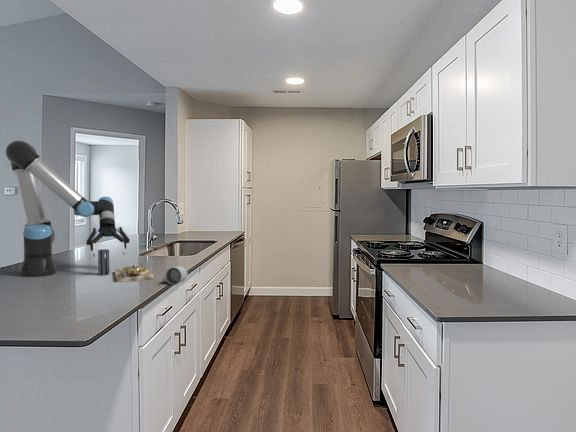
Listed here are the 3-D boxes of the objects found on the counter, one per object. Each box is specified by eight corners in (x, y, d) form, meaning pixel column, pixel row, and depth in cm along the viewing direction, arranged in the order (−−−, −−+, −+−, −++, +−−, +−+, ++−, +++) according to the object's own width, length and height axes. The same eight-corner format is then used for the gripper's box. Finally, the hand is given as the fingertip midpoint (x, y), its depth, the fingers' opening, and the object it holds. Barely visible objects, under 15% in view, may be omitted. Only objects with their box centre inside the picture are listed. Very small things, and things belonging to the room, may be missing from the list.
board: (116, 282, 191) (116, 272, 190) (114, 272, 213) (114, 263, 213) (154, 279, 197) (154, 269, 197) (148, 270, 220) (148, 261, 220)
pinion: (98, 275, 205) (98, 250, 204) (98, 273, 209) (98, 249, 209) (109, 274, 207) (109, 250, 206) (109, 273, 211) (108, 249, 211)
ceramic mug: (188, 281, 195) (188, 264, 194) (181, 285, 187) (181, 267, 186) (166, 280, 196) (166, 264, 196) (158, 284, 188) (158, 267, 188)
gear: (123, 278, 192) (123, 267, 192) (122, 274, 202) (122, 264, 201) (147, 276, 196) (147, 266, 196) (145, 272, 206) (145, 263, 206)
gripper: (131, 225, 233) (135, 257, 221) (81, 227, 223) (81, 260, 210) (132, 216, 228) (136, 248, 216) (80, 217, 217) (81, 251, 205)
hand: (109, 254), depth 213 cm, fingers open, 13 cm apart
